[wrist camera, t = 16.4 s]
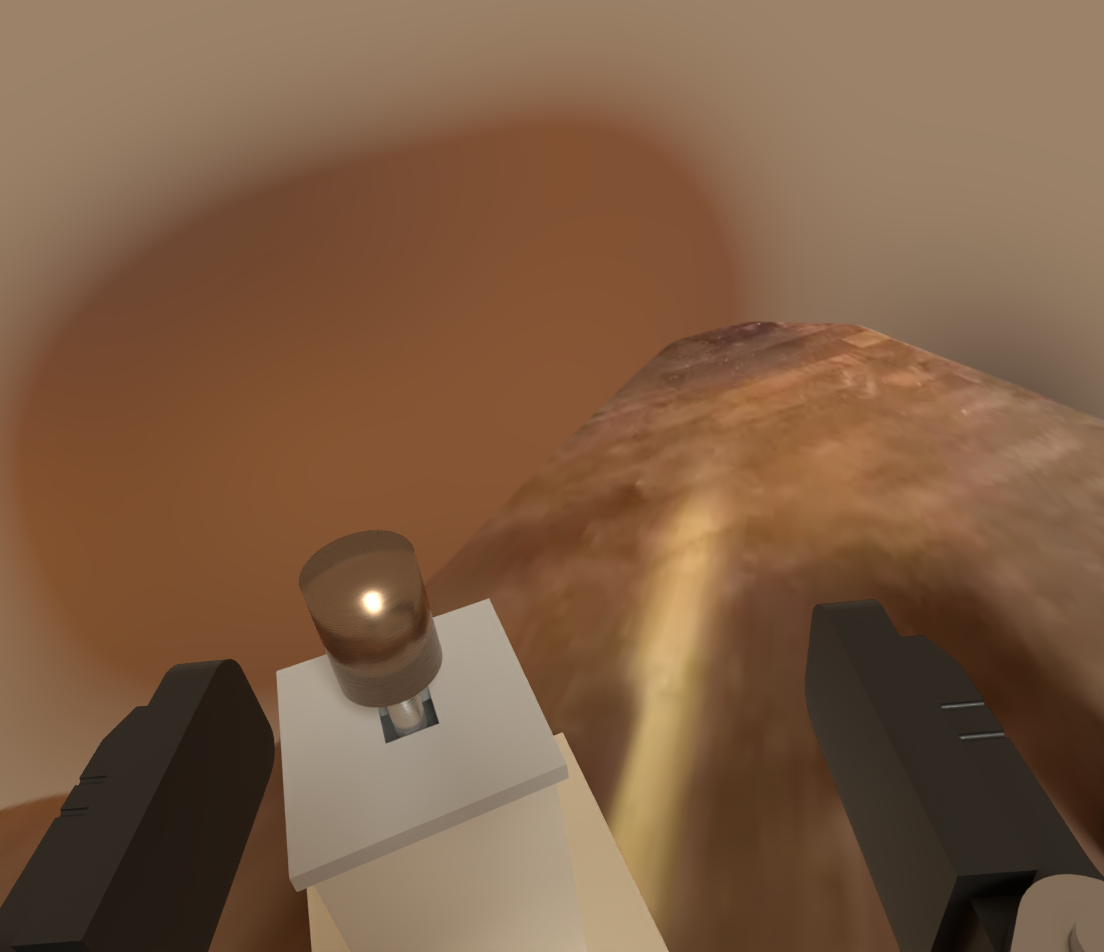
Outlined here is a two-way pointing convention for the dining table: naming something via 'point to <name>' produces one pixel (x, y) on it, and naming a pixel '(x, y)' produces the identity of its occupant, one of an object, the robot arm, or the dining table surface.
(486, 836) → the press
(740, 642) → the dining table surface
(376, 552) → the plunger
